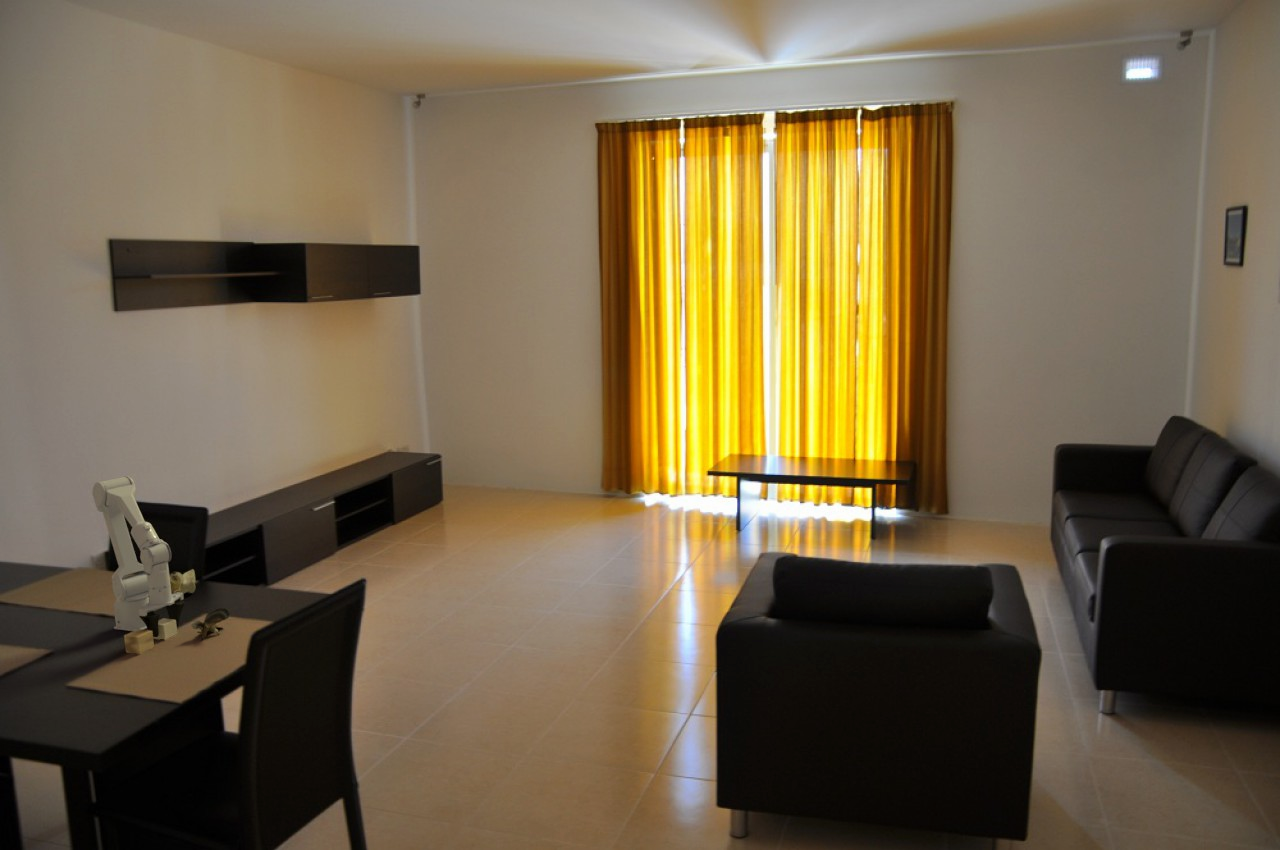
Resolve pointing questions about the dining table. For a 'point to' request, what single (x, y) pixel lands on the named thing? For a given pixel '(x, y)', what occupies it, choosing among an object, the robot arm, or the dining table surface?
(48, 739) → the dining table surface
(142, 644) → the oak base block
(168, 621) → the cream block
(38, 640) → the dining table surface
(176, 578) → the ceramic sculpture
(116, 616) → the robot arm
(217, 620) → the eagle figurine
